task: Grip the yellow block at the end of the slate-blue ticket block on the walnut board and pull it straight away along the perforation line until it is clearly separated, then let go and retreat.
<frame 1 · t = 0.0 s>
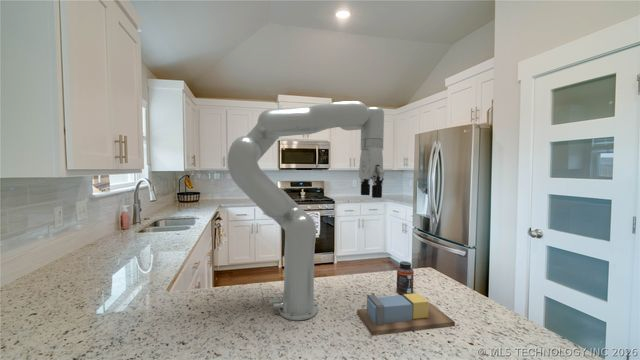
hand: (370, 196, 91), 37 cm above the countertop, tool pointing down, fingers open, 9 cm apart
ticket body: (389, 307, 81), on the board, point 4 cm above the countertop
yellow block: (415, 305, 83), point 4 cm above the countertop, slide at 0.0 cm
board: (403, 319, 83), on the countertop
supplement bottle: (404, 293, 101), on the countertop
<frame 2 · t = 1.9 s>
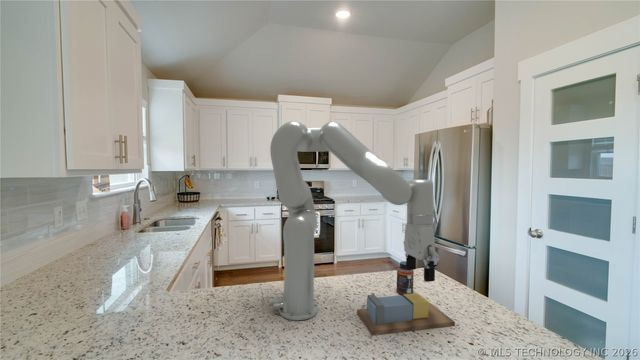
hand: (419, 274, 83), 13 cm above the countertop, tool pointing down, fingers open, 9 cm apart
nothing on the countertop moved.
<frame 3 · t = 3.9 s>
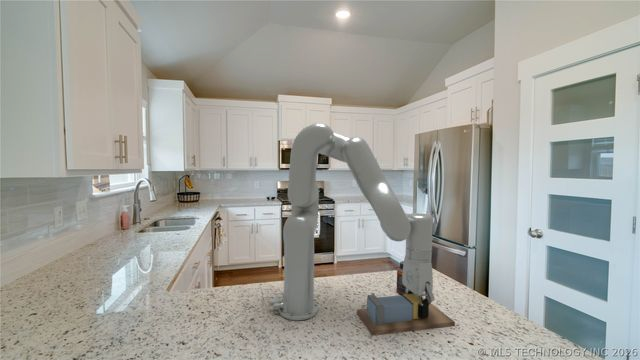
hand: (416, 311, 83), 2 cm above the countertop, tool pointing down, fingers closed on yellow block, 5 cm apart
yellow block: (415, 305, 83), point 4 cm above the countertop, slide at 0.0 cm, touching gripper
everything else where it was.
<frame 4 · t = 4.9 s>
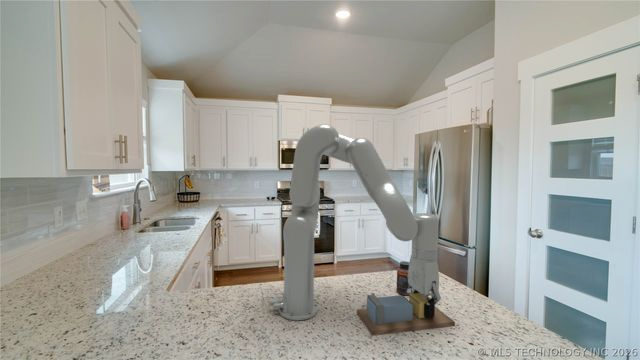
hand: (422, 310, 84), 2 cm above the countertop, tool pointing down, fingers closed on yellow block, 5 cm apart
yellow block: (421, 305, 84), point 4 cm above the countertop, slide at 2.0 cm, touching gripper
everything else where it was.
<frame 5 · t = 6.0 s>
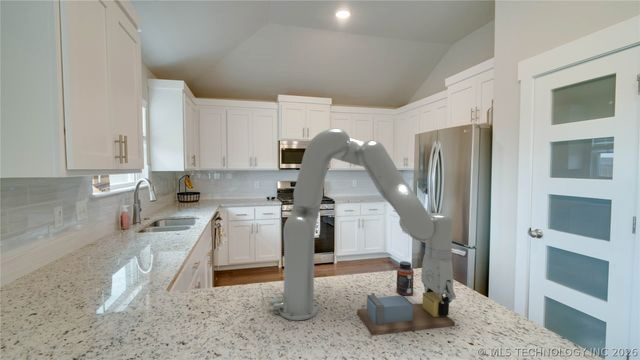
hand: (436, 309, 85), 2 cm above the countertop, tool pointing down, fingers closed on yellow block, 5 cm apart
yellow block: (435, 303, 85), point 4 cm above the countertop, slide at 6.9 cm, touching gripper
everything else where it was.
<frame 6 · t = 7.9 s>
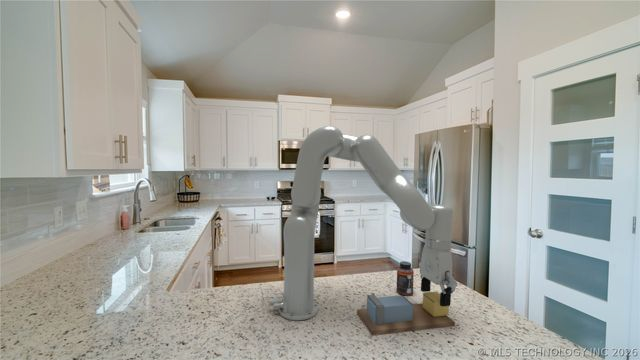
hand: (434, 298, 85), 6 cm above the countertop, tool pointing down, fingers open, 9 cm apart
yellow block: (435, 303, 85), point 4 cm above the countertop, slide at 7.0 cm
everything else where it was.
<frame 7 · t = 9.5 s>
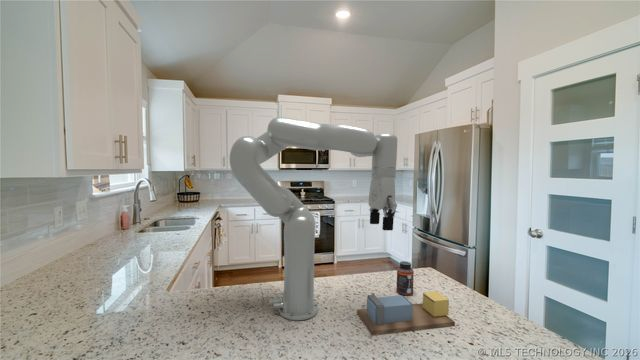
hand: (380, 226, 86), 27 cm above the countertop, tool pointing down, fingers open, 9 cm apart
nothing on the countertop moved.
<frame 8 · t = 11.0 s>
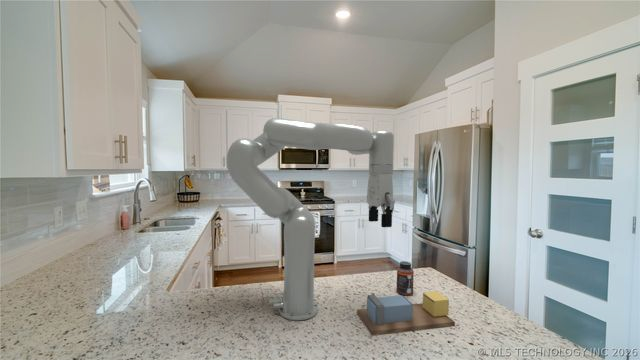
hand: (379, 224, 86), 28 cm above the countertop, tool pointing down, fingers open, 9 cm apart
nothing on the countertop moved.
at the end: yellow block slide at 7.0 cm; the gripper is holding nothing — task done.
